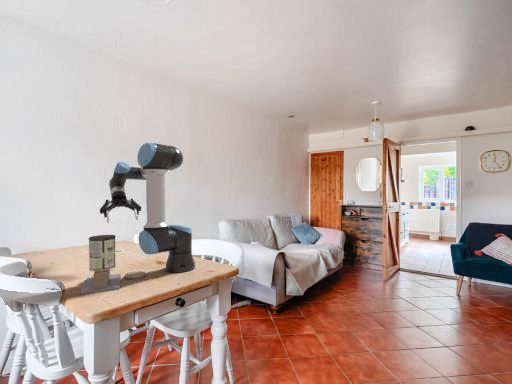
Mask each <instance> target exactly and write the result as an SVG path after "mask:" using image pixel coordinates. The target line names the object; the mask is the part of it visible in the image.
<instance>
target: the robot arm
mask: <svg viewBox="0 0 512 384" xmlns="http://www.w3.org/2000/svg"><path fill="white" fill-rule="evenodd" d="M183 162H184V156H183V152H182V151H181V149H179V148H178V147H176V146H173V145H166V144H160V143H155V142H145V143H143V144H142V145H141V146H140V147H139V150H138V153H137V163H138V166H140V167H135V166H131V165H130V164H129V163H127V162H124V161H120V162H119V161H118V162H117V163H116V165H115V168H114V170H113V175H112V177H111V178H110V180H109V183H108V185H109V186H108V187H109V190H110V196H111V200H109V199H105V202H104V204H102V206H100V208H99V214H101V215H102V214H103V216H104V218H106V222H107V223H110V215H109V214H110V213H109V212H111V211H112V210H114V209H115V208H123V207H124V208H128V209H130V210H131V211H133V213H134V216H135V217H134V218H135V220H136V221H138V219H139V215H140V214H139V213H140V212H141V211H142V206H141V205H140V204H138V203H137V202H136V201H135V200H134V198H130V199H128V198H127V194H126V190H125V184H126V182H127V180H140V181H145V186H146V187H145V189H146V193H145V194H146V197H145V198H146V199H145V200H146V223H145V225H144V226H143V230H141V231H140V232H139V234H138V245H139V248H140V249H141V251H142V252H143V253H144V254H145V255H157V254H160V253H161V254H162V253H166V252H168V257H167V260H166V262H165V271H166V272H169V273H184V272H189V271H193V270H194V269H195V268H196V262H195V259H194V257H193V253H192V252H193V249H192V239H193V238H192V236H193V234H192V227H191V226H189V225H180V224H167V222H166V188H165V184H166V183H165V182H166V180H165V178H166V177H165V176H166V174H167V172H168V171H174V170H177V169H178V168H180V167H181V166H182V165H183Z"/></svg>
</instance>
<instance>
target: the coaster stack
mask: <svg viewBox="0 0 512 384" xmlns="http://www.w3.org/2000/svg"><path fill="white" fill-rule="evenodd" d="M146 275H147V274H146V272H145V271H141V270H140V271H139V270H138V271H132V272H131V271H130V272H127V273H125V274H124V279H125V280H126V281H135V280H140V279H143V278H146Z"/></svg>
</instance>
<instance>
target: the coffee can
mask: <svg viewBox="0 0 512 384" xmlns="http://www.w3.org/2000/svg"><path fill="white" fill-rule="evenodd" d="M88 248H89V249H88V254H89V256H88V258H89V260H88V263H89V264H88V265H89V267H88V268H89V269H88V270H89V271H90V272H95V271H105V270H110V271H111V270H113V269H115V268H116V267H117V266H116V235H115V234H100V235H92V236H89V237H88Z"/></svg>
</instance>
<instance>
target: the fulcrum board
mask: <svg viewBox="0 0 512 384" xmlns="http://www.w3.org/2000/svg"><path fill="white" fill-rule="evenodd" d="M121 278H122V273H114V274H111V269H110V270H105V271H93V275H92V276H91V277H89V276H88V277H86V279H85V281H84V283H83V285H82V287H81V290H80V291H79V295H86V294H92V293H98V292H99V293H102V292H107V291H114V290H120V286H121Z"/></svg>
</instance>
